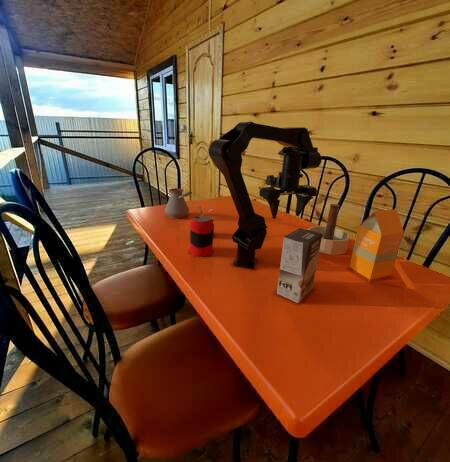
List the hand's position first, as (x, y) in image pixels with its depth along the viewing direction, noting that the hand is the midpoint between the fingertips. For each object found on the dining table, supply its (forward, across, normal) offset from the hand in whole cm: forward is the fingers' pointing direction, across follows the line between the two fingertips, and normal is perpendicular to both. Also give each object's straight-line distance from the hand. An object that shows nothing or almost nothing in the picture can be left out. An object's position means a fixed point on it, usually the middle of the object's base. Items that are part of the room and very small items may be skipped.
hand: (285, 217), depth 84 cm
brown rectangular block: (+12, -19, +2) cm, 22 cm away
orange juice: (+13, -18, +21) cm, 30 cm away
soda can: (+13, +26, -10) cm, 31 cm away
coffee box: (+13, +10, +20) cm, 26 cm away
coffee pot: (+13, +24, -45) cm, 53 cm away
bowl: (+13, -18, +2) cm, 22 cm away
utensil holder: (+13, +20, -23) cm, 33 cm away
